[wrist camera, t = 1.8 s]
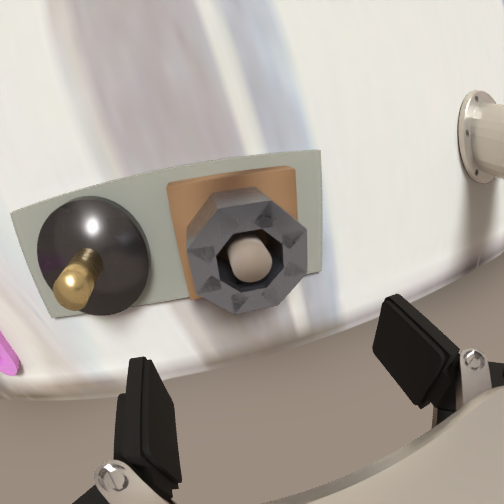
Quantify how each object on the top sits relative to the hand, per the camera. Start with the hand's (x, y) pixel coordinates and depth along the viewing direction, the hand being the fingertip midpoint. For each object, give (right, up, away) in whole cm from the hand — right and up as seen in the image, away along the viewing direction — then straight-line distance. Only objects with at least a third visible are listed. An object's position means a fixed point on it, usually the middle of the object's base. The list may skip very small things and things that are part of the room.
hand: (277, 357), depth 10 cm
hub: (-14, +4, +10) cm, 18 cm away
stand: (-2, +6, +12) cm, 14 cm away
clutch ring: (-2, +5, +10) cm, 12 cm away
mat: (-8, +5, +12) cm, 15 cm away
